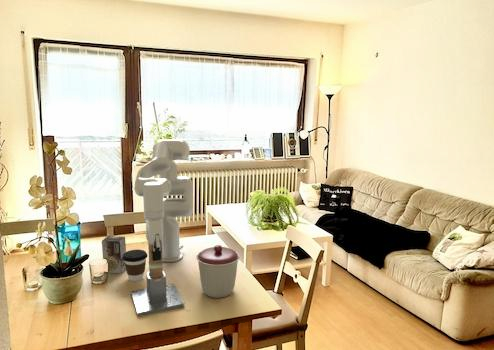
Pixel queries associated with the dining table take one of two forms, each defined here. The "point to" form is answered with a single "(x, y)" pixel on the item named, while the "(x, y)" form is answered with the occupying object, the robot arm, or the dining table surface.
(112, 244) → the coffee box
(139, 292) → the stand
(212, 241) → the dining table surface
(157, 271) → the post
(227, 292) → the canister
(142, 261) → the coffee cup
